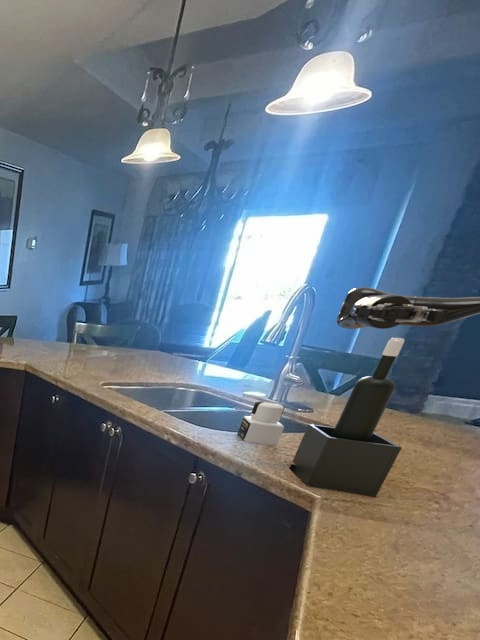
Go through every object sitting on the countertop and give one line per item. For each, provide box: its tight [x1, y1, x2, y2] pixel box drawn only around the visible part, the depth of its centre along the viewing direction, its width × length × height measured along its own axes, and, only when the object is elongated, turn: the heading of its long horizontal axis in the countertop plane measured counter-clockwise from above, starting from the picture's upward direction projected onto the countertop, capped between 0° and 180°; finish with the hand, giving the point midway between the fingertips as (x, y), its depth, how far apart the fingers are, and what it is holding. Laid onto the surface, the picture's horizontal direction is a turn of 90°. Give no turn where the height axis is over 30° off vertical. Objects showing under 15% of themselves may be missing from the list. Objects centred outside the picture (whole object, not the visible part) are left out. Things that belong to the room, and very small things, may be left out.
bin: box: [288, 423, 403, 498], centre depth 106 cm, size 11×11×11 cm
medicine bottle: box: [236, 400, 286, 447], centre depth 128 cm, size 7×7×12 cm
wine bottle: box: [331, 337, 405, 442], centre depth 102 cm, size 6×6×30 cm
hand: (410, 314), depth 105 cm, fingers open, 8 cm apart
